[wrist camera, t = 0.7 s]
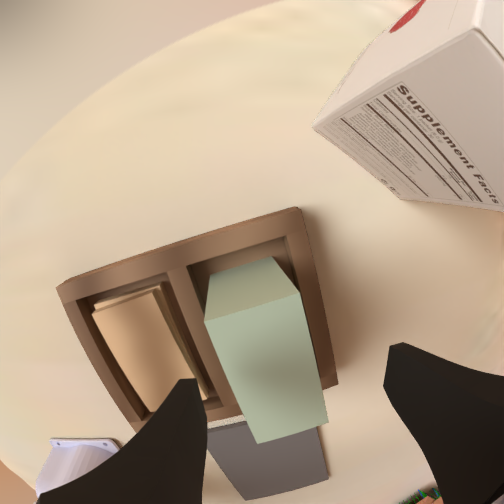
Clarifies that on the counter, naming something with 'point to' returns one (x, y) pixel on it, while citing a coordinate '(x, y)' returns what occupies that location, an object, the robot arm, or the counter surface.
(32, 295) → the counter surface
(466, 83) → the supplement box
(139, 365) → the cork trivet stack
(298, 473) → the charcoal mat
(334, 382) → the walnut rack
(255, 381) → the pale green rectangular block
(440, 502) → the green-backed flat pad
